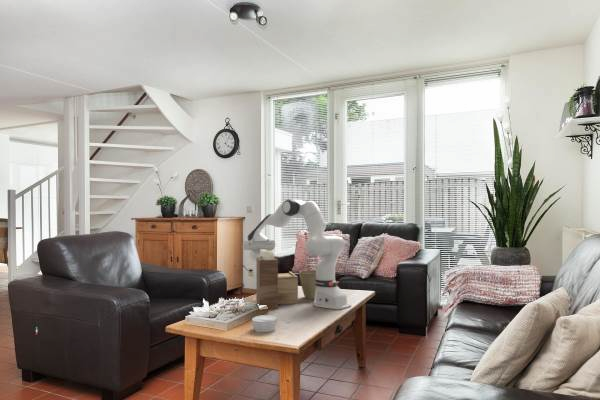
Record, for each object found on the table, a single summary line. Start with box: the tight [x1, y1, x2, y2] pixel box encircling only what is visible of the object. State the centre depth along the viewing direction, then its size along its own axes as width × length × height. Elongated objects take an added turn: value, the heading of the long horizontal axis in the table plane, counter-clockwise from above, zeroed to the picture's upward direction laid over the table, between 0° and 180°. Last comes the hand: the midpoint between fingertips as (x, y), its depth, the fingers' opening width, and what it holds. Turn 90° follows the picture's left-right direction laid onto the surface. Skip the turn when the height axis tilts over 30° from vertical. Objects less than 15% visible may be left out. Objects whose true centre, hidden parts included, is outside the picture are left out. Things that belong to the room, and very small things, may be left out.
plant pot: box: [298, 269, 316, 300], centre depth 260 cm, size 15×15×16 cm
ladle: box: [260, 249, 275, 260], centre depth 240 cm, size 25×6×4 cm, turn 13°
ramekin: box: [251, 314, 277, 333], centre depth 192 cm, size 11×11×5 cm
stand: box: [256, 256, 299, 311], centre depth 247 cm, size 33×24×28 cm
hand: (260, 239), depth 261 cm, fingers open, 8 cm apart
